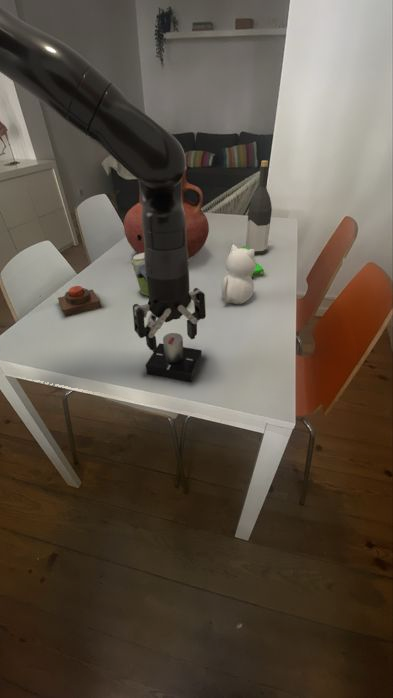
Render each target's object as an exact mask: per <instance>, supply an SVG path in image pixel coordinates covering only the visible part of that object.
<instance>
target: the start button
mask: <svg viewBox="0 0 393 698" xmlns="http://www.w3.org/2000/svg"><path fill="white" fill-rule="evenodd" d="M83 288H84V287H83V286H81V285H75V286H71V287H70V288H68V291H69V292H70V296H71V297H79V296H82V295H83V294H84V292H83Z"/></svg>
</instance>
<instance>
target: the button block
mask: <svg viewBox="0 0 393 698" xmlns="http://www.w3.org/2000/svg"><path fill="white" fill-rule="evenodd" d="M82 288H83V292H84V294H83V295H82V296H79V297H71V296H70V292H69V290H68V291H66V292H65V294H64V296H58V297H57V300H58V303H59V306H60V308H61V310H62V314H63V315H64V318H67V317H70V316H74V315H78V314H82V313H85V312H86V313H87V312H90V311H92V310H97V309H101V308H102V304H101V301H100V299H99V297H98V295H97V294H96V293H95V291H94V289H87V288H84V287H82Z"/></svg>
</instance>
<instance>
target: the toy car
mask: <svg viewBox="0 0 393 698" xmlns="http://www.w3.org/2000/svg"><path fill="white" fill-rule="evenodd" d="M237 248H238V249H240V248H244V249H247V250H250V249H248V248H246V246H242V247H241V246H240V247H237ZM264 270H265V269H264V268H263V267H262V266H261V265H259V264H258V263H257V262H256V268H255V270H254V272H253V273H252V274H251V275H249V276H250V277H251V278H255V277H258V276H262V275H264V274H265V271H264Z"/></svg>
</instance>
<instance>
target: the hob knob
mask: <svg viewBox="0 0 393 698" xmlns="http://www.w3.org/2000/svg"><path fill="white" fill-rule="evenodd" d="M162 344H164V353H165V360H166V361H167V362H169V363H178V362H180V361H182V360H183V358H184V354H183V347H184V339H183V336H182V335H181V334H180V333H177V332H169V333H166V334H165V335H164V336H163V338H162Z"/></svg>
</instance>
